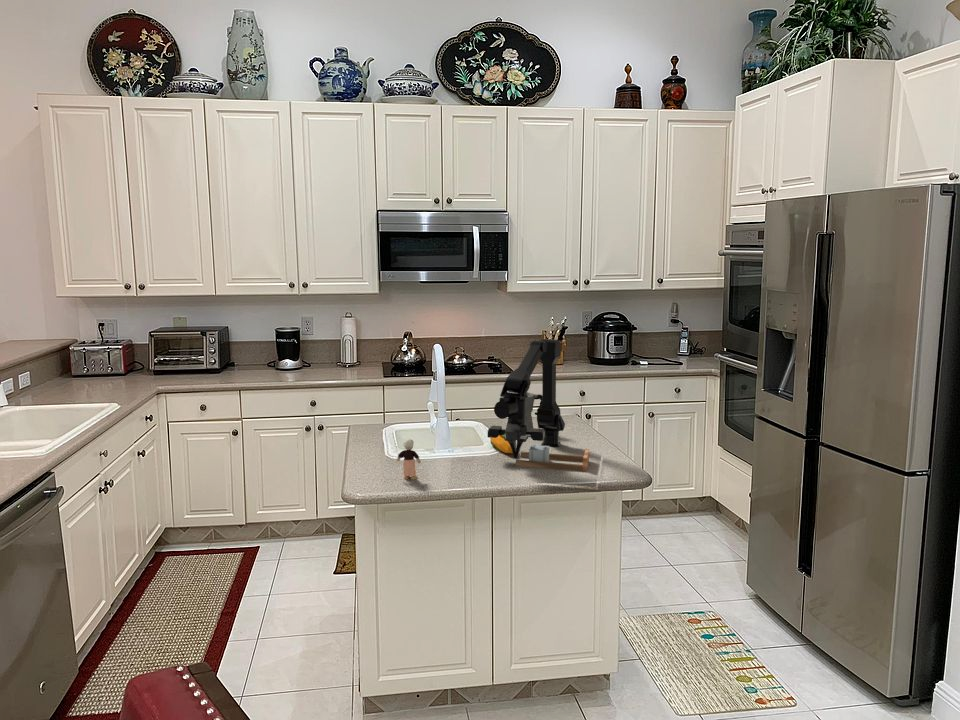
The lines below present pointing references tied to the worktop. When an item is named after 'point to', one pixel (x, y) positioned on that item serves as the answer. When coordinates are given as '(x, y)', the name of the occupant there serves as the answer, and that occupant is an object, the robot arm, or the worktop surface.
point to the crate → (539, 453)
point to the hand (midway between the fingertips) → (515, 457)
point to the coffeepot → (530, 409)
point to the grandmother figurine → (409, 460)
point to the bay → (557, 465)
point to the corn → (501, 444)
